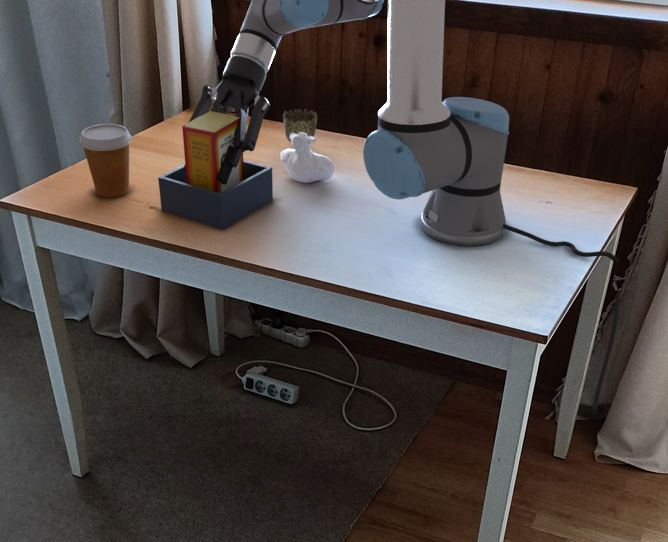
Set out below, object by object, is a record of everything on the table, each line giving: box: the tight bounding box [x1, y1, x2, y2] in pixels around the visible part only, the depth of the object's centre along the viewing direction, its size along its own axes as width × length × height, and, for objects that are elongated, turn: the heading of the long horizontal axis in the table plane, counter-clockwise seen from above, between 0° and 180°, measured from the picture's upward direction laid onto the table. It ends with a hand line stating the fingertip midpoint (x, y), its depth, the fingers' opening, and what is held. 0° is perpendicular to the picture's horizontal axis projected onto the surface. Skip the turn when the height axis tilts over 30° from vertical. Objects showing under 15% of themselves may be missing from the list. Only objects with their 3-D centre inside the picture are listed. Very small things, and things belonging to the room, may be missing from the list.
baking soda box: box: [181, 110, 244, 193], centre depth 158 cm, size 10×6×16 cm
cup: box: [282, 108, 318, 149], centre depth 184 cm, size 8×7×8 cm
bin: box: [157, 159, 274, 230], centre depth 161 cm, size 15×16×7 cm
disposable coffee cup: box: [79, 123, 132, 198], centre depth 164 cm, size 10×10×12 cm
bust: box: [279, 132, 335, 184], centre depth 170 cm, size 12×8×11 cm
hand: (204, 177), depth 156 cm, fingers closed on baking soda box, 7 cm apart
